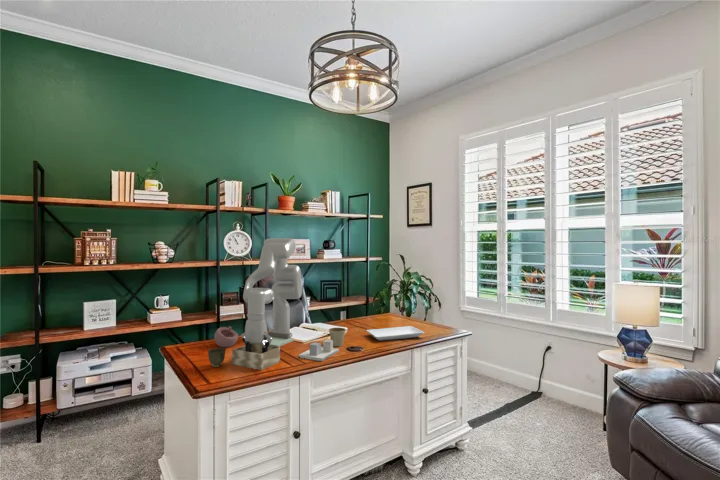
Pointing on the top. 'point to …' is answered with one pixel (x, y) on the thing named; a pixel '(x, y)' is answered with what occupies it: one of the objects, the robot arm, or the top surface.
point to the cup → (216, 356)
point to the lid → (278, 339)
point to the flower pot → (337, 336)
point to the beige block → (327, 345)
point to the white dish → (319, 357)
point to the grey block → (315, 348)
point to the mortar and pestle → (225, 337)
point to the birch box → (256, 357)
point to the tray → (395, 333)
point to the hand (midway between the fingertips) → (256, 353)
